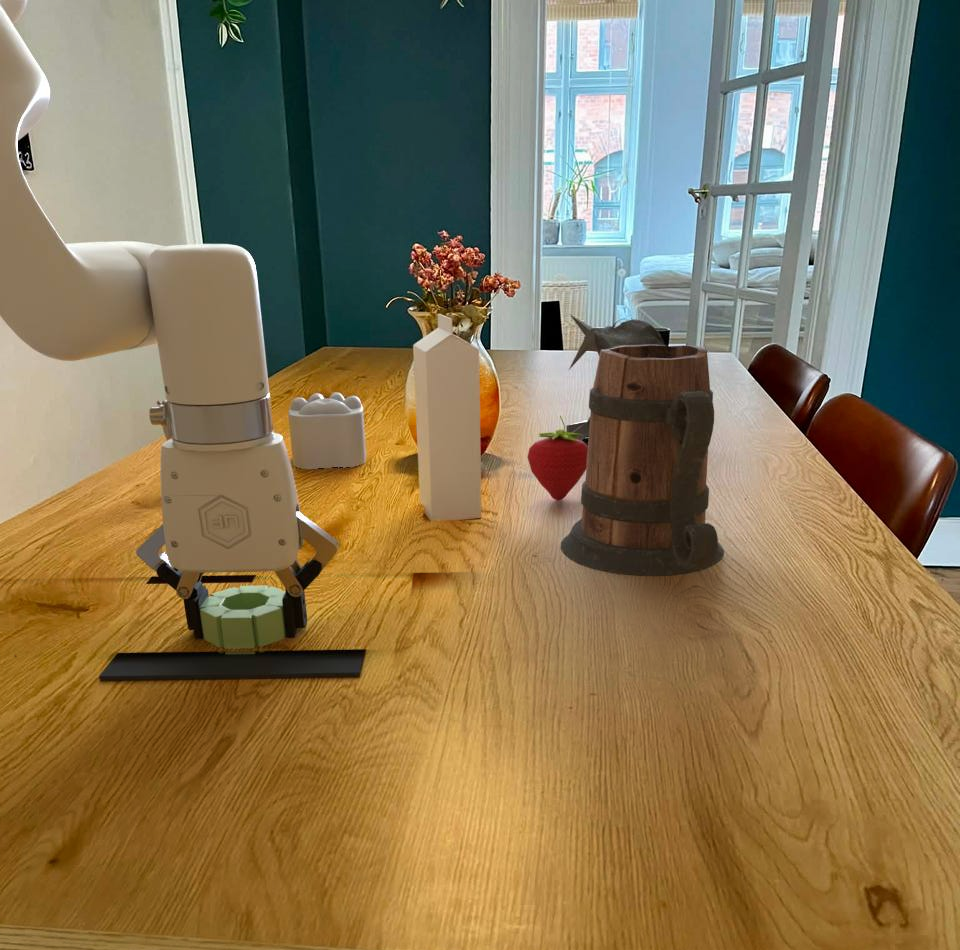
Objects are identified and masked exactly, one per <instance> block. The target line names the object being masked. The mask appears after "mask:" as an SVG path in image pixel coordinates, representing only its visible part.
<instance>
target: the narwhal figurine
mask: <svg viewBox="0 0 960 950" xmlns="http://www.w3.org/2000/svg"><path fill="white" fill-rule="evenodd" d="M570 317H571V318H572V320H573V321H574V322H575V324H576V326H577V327H578V328H579V330H580V331H581V332H582V333H583V336H585V337H584V338H583V340H582V343H581V344H580V347H579V349H578V350H577V352H576V354H575V356H574V358H573V360H572V362H571V364H570V366H569V368H568V370H567V371H570V370H571V369H572V367H573V366H575V364H577V362H578V361H579V360H580V359H581V358H582V357H583V356H584V355H585V353H586V352H588V351H589V352H596V353H597V355H598V357H599V356H600V351H601V350H603V349H610V348H613V347H617V346H624V345H662V346H666V344H665V341H664V339H663V338H662V336H661V334H660V332H659V331H658V330H657V329H656V328H655V327H654V326H653V325H652V324H651V323H650V322H647V321H645V320H642V319H641V320H640V319H637V318H633V319H632V318H631V319H628V320H625V321H623V322H620V324H619V325H617V326H615V327H614V326H611V325H609V326H608V325H607V326H604V327H603V326H601V327H595V326H594V327H592V326H591V325H589V324H588V323H586V322H583V321H582V320H580V319H579V318H576V317H575V316H574V315H572V314H570ZM589 426H590V416H589V418H588V419H587V420H582V421H579V422H575V423H571V424H567V425H566V428H565V431H566V432H569V433H570V432H571V433H577V434H583V436H574V437H573V438H574V439H577V440H581V441H583V440H584V439H586V438H589Z"/></svg>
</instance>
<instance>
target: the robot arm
mask: <svg viewBox="0 0 960 950" xmlns="http://www.w3.org/2000/svg"><path fill="white" fill-rule="evenodd" d="M27 4H28V0H0V317H1V319H2V320H3V321H4V322H5V324H6V325H7V326H8V327H9V328H10V329H11V330H12V332H13V333H14V334H15V335H16V336H17V337H18V338H19V339H20V340H22V342H23V343H25V344H26V345H27V346H29V347H30V348H31V349H32V350H34V351H36V352H37V353H39V354H41V355H43V356H45V357H48V358H51V359H54V360H58V361H64V362H65V361H66V362H75V361H82V360H88V359H92V358H97V357H100V356H105V355H108V354H109V355H110V354H115V353H118V352H122V351H123V352H124V351H130V350H134V349H139V348H143V347H147V346H152V345H157V348H158V355H159V361H160V370H161V374H162V381H163V388H164V394H165V400H163V401H164V405H162V404H161V405H160V407H159V406H151V407H150V408H149V412H148V413H149V414H148V415H149V421H150V424H151V425H152V426H161V427H162V428H163V427H166V428H167V430H168V433H169V436H172V439H170V440H168V441H167V440H166V441H165V442H163V443H162V444H161V449H160V476H159V477H160V497H161V499H160V501H161V513H162V514H161V515H162V517H161V518H162V523H161V525H160V526H158V528H157V529H155V530H154V532H153V533H151V535H149V536H148V538H147V539H145V540H144V542H142V544H140V545H139V546H138V548H136V551H135V554H136V556H137V557H138V558H139V559H140V560H141V561H142V562H143V563H145V564H146V565H147V566H148V567H149V568H150V569H151V570H153V571H155V573H156V575H157V576H159V577H160V578H161V579H162V580H163V581H165V582H166V583H167V584H166V585H168V586H170V587H171V588H172V589H173V590H175V592H176V596H177V597H178V598H180V599H182V600H183V606H184V607H183V608H184V612H185V618H186V624H187V629H188V630H189V631H193V636H194V640H202V639H203V640H204V635H203V628H202V622H201V615H200V607H201V605H202V604H203V602H204V601H205V600H206V598H207V597H208V596H210V594H209V588H207V587H206V585H204V584H203V583H202V582H200V581H201V578H202V576H204V573H205V574H206V573H208V574H210V573H212V574H214V573H215V574H217V573H261V572H262V573H264V572H274V573H275V575H276V576H277V578H278V579H279V581H280V583H281V584H282V585H283V588H284V589H285V590H284V591H285V594H284V597H283V599H282V603H283V612H284V621H285V630H286V636H285V638H288V639H295V638H296V636H297V633H298V632H299V629H306V628H307V626H308V612H307V602H306V594H305V593H306V592H305V590H306V589H307V588H308V587H309V586H310V585H311V584H312V583H313V582H314V581H315V580H316V578H317V577H318V576H320V574H321V573H322V571H323V570H324V569H325V567H326V566H327V565H328V564H329V563H330V562H331V560H332V559H333V558H334V557H335V555H336V554H337V552H338V551H339V547H340V542H339V541H338V540H337V539H336V538H335V537H333V536H332V535H331V534H329V533H328V532H326V531H325V530H324V529H323V528H321V527H320V526H319V525H318V524H316V523H315V522H313V521H312V520H311V519H309V518H308V517H307V516H306V515H304V514H303V513H302V512H301V507H300V502H299V495H298V491H297V485H296V481H295V475H294V471H293V468H292V464H291V460H290V456H289V452H288V449H287V446H286V443H285V440H284V438H283V437H284V436H283V435H282V434H280V433H276V432H275V430H274V421H273V412H272V403H271V393H270V386H269V385H270V384H269V377H268V367H267V366H268V365H267V356H266V348H265V347H266V346H265V338H264V329H263V320H262V319H263V318H262V310H261V301H260V291H259V283H258V274H257V269H256V268H257V267H256V264H255V261H254V259H253V257H252V255H251V253H249V251H248V250H247V249H245V248H244V247H242V246H239V245H236V244H230V243H190V244H173V245H161V244H154V243H149V242H142V241H134V240H115V241H87V242H71V243H65V242H64V240H63V239H62V238H61V236H60V234H59V233H58V232H57V230H56V228H55V227H54V225H53V224H52V222H51V221H50V219H49V218H48V216H47V215H46V213H45V211H44V210H43V207H41V205H40V203H39V202H38V201H37V198H36V197H35V195H34V193H33V191H32V189H31V188H30V186H29V184H28V181H27V178H26V176H25V174H24V171H23V168H22V165H21V162H20V157H19V150H18V149H19V148H18V141H20V140H21V139H22V138H24V137H25V136H26V135H28V133H29V132H30V131H32V130H33V129H34V128H35V127H36V126H37V125H38V123H40V122H41V120H42V119H43V118H44V116H45V114H46V112H47V110H48V108H49V106H50V102H51V101H50V100H51V87H50V84H49V81H48V78H47V76H46V75H45V73H44V71H43V70H42V69H41V67H40V65H39V63H38V62H37V60H36V59H35V57H34V56H33V54H32V53H31V51H30V49H29V48H28V46H27V45H26V43H25V41H24V39H23V38H22V37H21V35H20V33H19V32H18V30H17V29H16V27H15V24H16V23H17V22H18V21H19V20H20V18H22V15H23V13H25V10H26V8H27ZM304 541H305V542H306V543H308V544H309V545H310V546H312V547H313V548H314V550H315V553H314V554H313V555H312V556H311V557H310V558H309V559H308V560H307V561H306V562H305V563H304V564H303V565H302V564H301V563H300V562H299V560H298V556H299V551H300V550H301V549H302V547H303V544H304ZM164 546H165V551H166V553H165V552H164V550H163V547H164Z"/></svg>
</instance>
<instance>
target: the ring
mask: <svg viewBox="0 0 960 950" xmlns="http://www.w3.org/2000/svg"><path fill="white" fill-rule="evenodd" d="M285 592H286V591H285V590H283V589H280V588H278V587H276V586H269V585H268V584H267V585H266V584H265V585H240V586H239V587H236V586H233V587H229V588H226V589H223V590H219V591H216V592H214V593H210V594H209V596H208V597H207V598H206V600H205V601H204V602H203V604H202V605H201V607H200V615H201V622H202V628H203V635H204V639H203V640H204V641H206V642H208V643H210V644H212V645H213V646H215V647H217V648H223V647H224V649H225V650H217V652H218V653H220V654H221V653H224V652H225V654H226V655H232V654H255V653H256V651H258V652H260V653H262V652H265V651H266V650H237V649H255V648H256V646H257V647H259V648H262V647H265V646H268V645H270V644H274V643H276V642H278V641H281V640H284V639H286V630H285V621H284V612H283V603H282V599H283V597H284V594H285ZM226 649H229V650H226ZM230 649H231V650H230ZM232 649H234V650H232ZM235 649H236V650H235Z"/></svg>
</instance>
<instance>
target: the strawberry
mask: <svg viewBox="0 0 960 950" xmlns="http://www.w3.org/2000/svg"><path fill="white" fill-rule="evenodd" d="M559 418H560V421H561V422H562V425H563V429H562V428H560V429H556V430H555V432H553V431H552V432H542V433H541V432H540V433H538V437H539V438H543V439H539V440H536V441H535V442H534V443H533V444H531V445H530V447H529V449H528V453H527V461H528V464H529V467H530V471H531V473H532V474H533V476H534V477H535V478H536V480H537V481H538V483H539V484H540V485H541V486H542V487H543V489H545V490H546V492H547V493H548V494H549V495H550V497H551V498H552V499H553V500H555V501H562V500H563V499H564V498H566V497H567V495H568V494H569V493H570V491H571V490H572V489H574V487H575V486H576V485H577V483H578V482H579V481H580V479H581V478H582V476H583V475H584V473H586V466H587V453H588V444H586V442H584V441H583V440H582V441H581V440H577V439H574V438H573V437H574V436H583V434H577V433H571V432H570V433H569V432H566V425H565V423H564V420H563V419H562V416H561V415H559Z"/></svg>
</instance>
